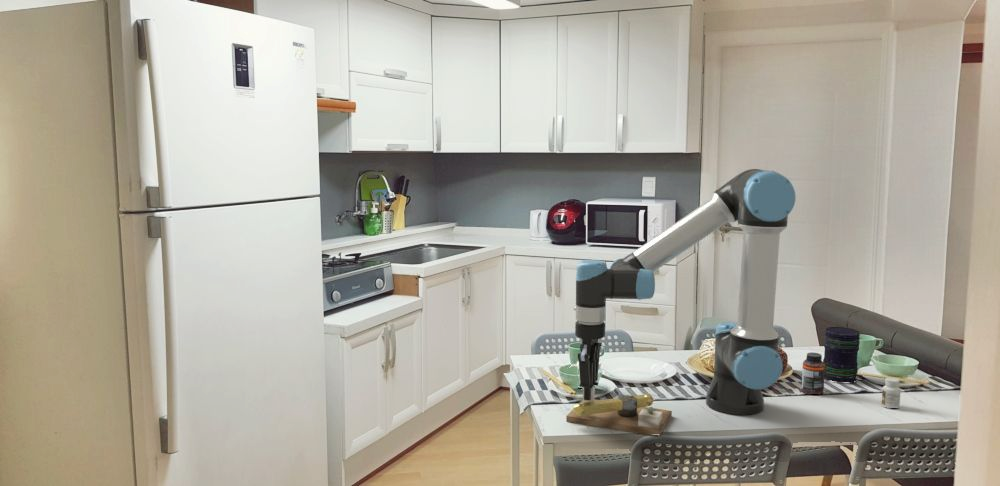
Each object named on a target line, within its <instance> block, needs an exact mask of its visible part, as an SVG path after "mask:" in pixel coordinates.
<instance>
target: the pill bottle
mask: <svg viewBox="0 0 1000 486" xmlns="http://www.w3.org/2000/svg"><path fill="white" fill-rule="evenodd" d="M884 380H885V382H884V384H885V385H883V386H882V394H881V395H882V396H881V406H882V405H883V406H885V407H888V408H898V409H900V404H901V403H900V402H901V392H902V391H901V388H900V387H899V386H900V379H899V378H897V377H895V378H894V377H886V378H885V379H884ZM883 406H882V407H883ZM885 407H884V408H885ZM888 408H887V409H888Z"/></svg>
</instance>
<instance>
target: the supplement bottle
mask: <svg viewBox="0 0 1000 486" xmlns="http://www.w3.org/2000/svg"><path fill="white" fill-rule="evenodd" d="M822 357H823V355H822V354H821V353H818V352H807V353H806V359H804V360H803V361H802V370H801V371H802V373H801V391H802V392H803V393H804V392H806V393H805V394H807V393H812V394H819V395H821V394H820V393H822V394H823V393H824V392H825V391H824V390H825V379H824V374H825V364H824V362H823V358H822Z"/></svg>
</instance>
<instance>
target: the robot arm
mask: <svg viewBox="0 0 1000 486" xmlns="http://www.w3.org/2000/svg"><path fill="white" fill-rule="evenodd" d="M796 200H797V199H796V191H795V188H794V186H793V184H792V182H791V181H790V180H789V179H788V178H787V177H786V176H784V175H783V174H781V173H779V172H777V171H774V170H764V169H759V168H758V169H757V168H750V169H747V170H744V171H742V172H740V173H739V174H737V175H735V176H734V177H733V178H731V179H730V180H729V181H727V182H726V183H724V184H723V185H722V186H721V187H719V188H717V189H716V190H715V191H713V192H712V193H711V197H710V199H709V200H706V201H705V202H704V203H702V205H700V206H698V207H696V209H694V210H692V211H691V212H690V213H688V214H686V215H685V216H684V217H682V218H680V219H679V220H678V221H677V222H675V223H673V224H672V225H670V226H669V227H667V228H666V229H664V230H663V231H662V232H660V233H658V234H657V235H656V236H654V237H653V238H651V239H650V240H647V242H645V243H644V244H643V245H641V246H639V247H638V248H636V249H635V250H634V251H632V252H631V253H630V254H628V255H627V256H624V257H623V258H618V259H615V260H614V261H612V263H611V264H610V265H609V268H608V267H607V263H606V261H604V260H599V259H597V260H596V259H585V260H581V261H579V262H578V263H577V265H576V276H575V307H574V308H573V310H574V311H575V320H576V321H575V326H574V328H575V331H574V332H575V333H574V334H575V336H576V337H577V338H579V339H580V340H581V344H580V346H579V350H580V352H579V353H578V354H577V360H578V361H579V373H580V381H579V387H583V390H582V400H583V403H586V402H593V401H595V400H596V398H595V397H596V395H595V394H596V390H595V388H596V386H597V387H598V386H599V382H596V381H597V380H598V381H599V378H598V368H599V362H600V355H601V349H602V343H601V342H599V340H600V339H603V338H605V336H606V322H605V321H606V312H607V311H606V307H607V304H606V301H607V300H608V299H609V300H617V299H618V300H638V301H640V300H651V299H652V298H653V297H654V295H655V291H656V290H655V289H656V278H655V277H656V276H655V273H654V272H657V270H658V269H661V268H662V267H663V266H665V265H667V264H668V263H669V262H671V261H672V260H674V259H675V258H677V257H678V256H680V255H681V254H683V253H684V252H686V251H687V250H688V249H691V248H692V247H693V246H695V245H697V244H698V243H699V242H701V241H702V240H703V239H705V238H706V237H708V236H710V235H711V234H712V233H714V232H715V231H717V230H718V229H719V228H721V227H722V226H725V225H727V223H732V224H733V223H735V222H737V225H738V227H739V228H740V229H741V230H742V232H743V234H742V248H741V261H740V263H741V264H740V276H739V277H740V278H739V279H740V280H739V295H738V308H737V320H736V321H729V322H727V321H726V322H719V323H718V324H717V325H716V328H715V334H714V336H715V340H714V341H715V342H714V343H715V344H714V362H713V363H714V364H713V365H714V367H713V378H712V380H711V382H710V385H709V387H708V390H707V392H706V395H705V396H706V397H705V398H706V399H705V404H706V405H707V406H708V407H709V408H710V409H712V410H715V411H716V412H720V413H724V414H730V415H742V416H744V415H747V416H748V415H756V414H759V413H761V412H762V411H763V410H764V408H765V407H764V406H765V400H764V399H765V398H764V396H763V393H762V390H764V389H766V388H770V387H771V386H772V385H774V384H775V383H776V382H777V381H778V380H779V379H780V377H781V375H782V374H783V373H782V372H783V368H784V366H783V365H784V364H783V360H782V357H781V355H780V353H779V338H780V335H779V333H778V332H777V331H776V329H775V328H774V317H775V303H776V290H777V278H778V276H777V275H778V263H779V250H780V238H781V237H780V235H781V233H782V232H783V231H784V230H786V228H788V219H789V218H788V216H789V215H790V214H791V212H792V211H793V208H794V206H795V203H796ZM594 385H596V386H594Z"/></svg>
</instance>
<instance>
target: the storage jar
mask: <svg viewBox="0 0 1000 486" xmlns="http://www.w3.org/2000/svg"><path fill="white" fill-rule="evenodd" d="M824 330H825V331H824V337H823V339H824V340H823V347H824V355H823V356H824V357H823V358H822V362H824V364H825V374H824V378H825V379H827V380H832V381H837V382H854V381H856V380H858V378H857V376H858V371H859V369H858V365H859V363H858V354H859V353H858V352H859V350H860V343H861V342H860V339H861V338H860V335H861V333H860V331H859V330H857V329H855V328H850V327H844V326H843V327H842V326H831V327H830V326H829V327H825V329H824ZM825 379H824V380H825ZM827 380H826V381H827ZM856 382H857V381H856Z"/></svg>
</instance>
